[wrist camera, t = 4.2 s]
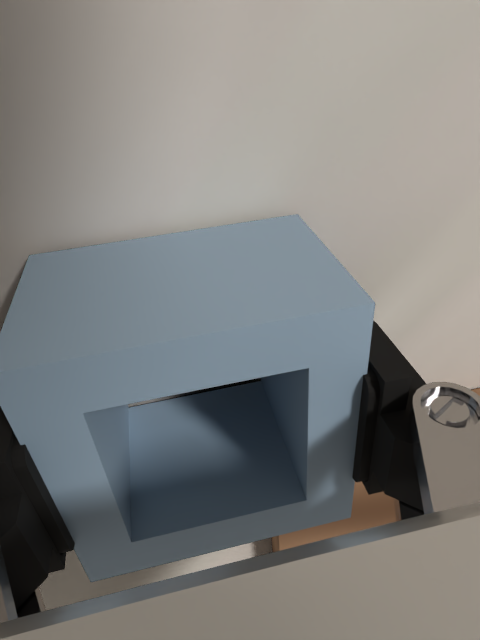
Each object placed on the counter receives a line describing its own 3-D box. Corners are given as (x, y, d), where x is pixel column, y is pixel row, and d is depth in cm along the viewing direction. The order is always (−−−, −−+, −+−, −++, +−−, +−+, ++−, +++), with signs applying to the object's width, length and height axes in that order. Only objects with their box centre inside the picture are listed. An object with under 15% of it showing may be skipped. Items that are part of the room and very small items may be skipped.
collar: (29, 255, 10) (-16, 375, 7) (297, 213, 11) (375, 303, 7) (98, 442, 13) (91, 582, 10) (297, 400, 14) (350, 517, 11)
